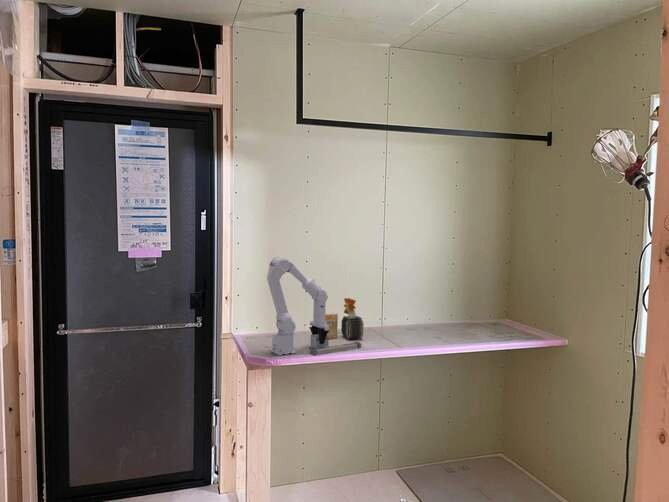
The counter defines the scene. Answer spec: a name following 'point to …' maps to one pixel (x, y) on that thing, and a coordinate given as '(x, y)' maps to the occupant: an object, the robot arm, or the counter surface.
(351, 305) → the bomb
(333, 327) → the supplement box
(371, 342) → the counter surface
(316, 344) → the block
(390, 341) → the counter surface
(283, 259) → the robot arm
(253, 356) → the counter surface
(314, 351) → the rail
